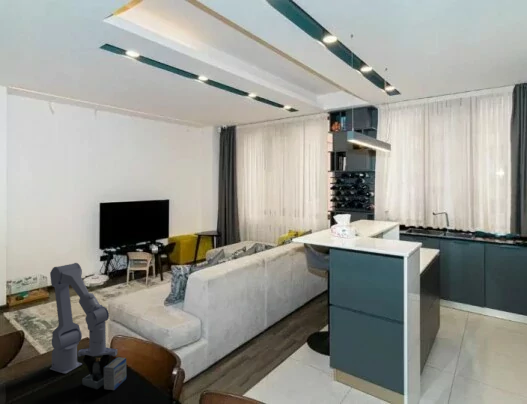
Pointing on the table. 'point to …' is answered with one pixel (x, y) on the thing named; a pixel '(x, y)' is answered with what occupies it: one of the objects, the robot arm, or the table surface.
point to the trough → (92, 382)
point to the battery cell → (96, 370)
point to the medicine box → (115, 373)
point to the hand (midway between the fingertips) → (98, 373)
